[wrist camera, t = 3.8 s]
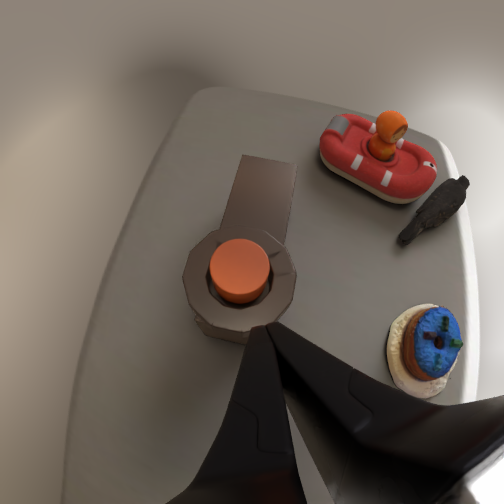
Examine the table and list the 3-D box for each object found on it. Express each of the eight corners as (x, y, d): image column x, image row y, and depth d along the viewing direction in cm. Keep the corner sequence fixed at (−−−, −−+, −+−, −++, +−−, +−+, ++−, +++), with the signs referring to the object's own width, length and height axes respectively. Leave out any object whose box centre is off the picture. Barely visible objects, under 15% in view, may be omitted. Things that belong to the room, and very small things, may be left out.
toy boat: (412, 224, 26) (453, 178, 19) (306, 167, 28) (322, 107, 21) (424, 173, 29) (457, 127, 22) (332, 124, 31) (349, 70, 24)
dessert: (388, 294, 22) (457, 288, 17) (418, 312, 26) (474, 308, 21) (373, 395, 20) (444, 403, 15) (406, 394, 23) (464, 398, 18)
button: (261, 309, 15) (263, 300, 13) (206, 297, 15) (202, 287, 14) (271, 258, 16) (274, 244, 15) (220, 248, 16) (217, 233, 15)
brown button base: (270, 354, 21) (284, 341, 14) (193, 337, 21) (170, 316, 14) (296, 209, 26) (314, 150, 19) (232, 196, 26) (230, 134, 19)
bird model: (462, 160, 26) (451, 171, 28) (397, 228, 24) (385, 238, 26) (481, 182, 25) (468, 192, 28) (420, 257, 23) (406, 264, 26)
